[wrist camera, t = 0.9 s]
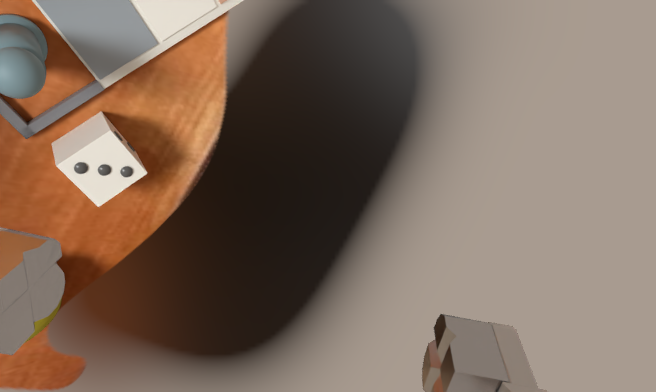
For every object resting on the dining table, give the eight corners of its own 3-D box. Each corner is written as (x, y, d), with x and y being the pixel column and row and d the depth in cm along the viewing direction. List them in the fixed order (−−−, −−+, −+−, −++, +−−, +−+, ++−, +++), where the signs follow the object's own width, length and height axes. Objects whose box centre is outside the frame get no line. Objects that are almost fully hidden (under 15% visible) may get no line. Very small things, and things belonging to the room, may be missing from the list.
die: (51, 143, 50) (56, 166, 45) (102, 110, 51) (112, 129, 46) (91, 183, 53) (99, 208, 49) (138, 152, 55) (150, 174, 50)
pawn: (-35, 32, 42) (-48, 68, 32) (17, 2, 43) (21, 28, 33) (11, 81, 45) (13, 127, 36) (59, 52, 46) (73, 89, 36)
